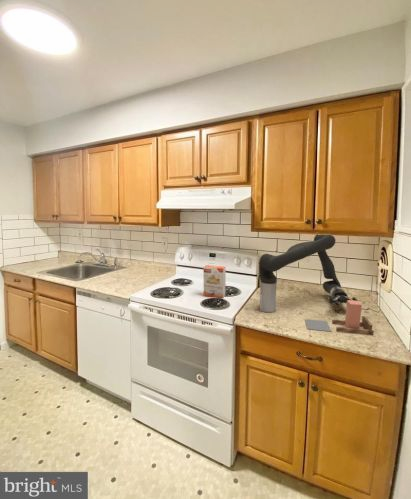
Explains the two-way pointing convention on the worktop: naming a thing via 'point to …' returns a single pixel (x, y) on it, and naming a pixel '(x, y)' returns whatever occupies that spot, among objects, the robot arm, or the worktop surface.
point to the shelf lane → (364, 324)
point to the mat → (317, 325)
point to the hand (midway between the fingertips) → (346, 305)
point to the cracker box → (214, 281)
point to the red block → (353, 314)
